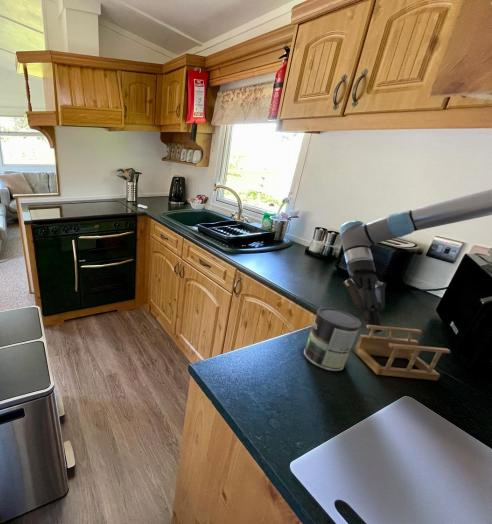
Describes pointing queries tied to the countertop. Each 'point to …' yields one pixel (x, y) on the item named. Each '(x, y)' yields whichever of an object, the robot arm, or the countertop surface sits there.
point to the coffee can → (331, 338)
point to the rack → (397, 353)
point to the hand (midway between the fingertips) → (375, 331)
